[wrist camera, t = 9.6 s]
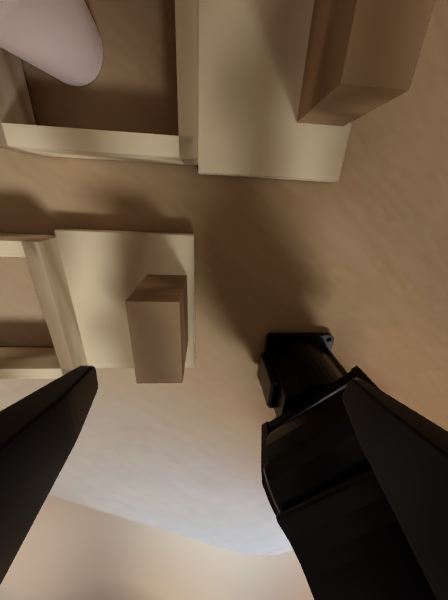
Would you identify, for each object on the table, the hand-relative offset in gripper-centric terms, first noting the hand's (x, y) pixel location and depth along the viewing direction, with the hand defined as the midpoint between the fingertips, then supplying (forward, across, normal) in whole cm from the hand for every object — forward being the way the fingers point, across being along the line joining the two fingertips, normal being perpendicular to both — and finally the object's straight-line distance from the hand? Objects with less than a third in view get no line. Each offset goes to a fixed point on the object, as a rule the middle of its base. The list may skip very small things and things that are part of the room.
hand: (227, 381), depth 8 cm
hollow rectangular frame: (+12, +12, +3) cm, 17 cm away
